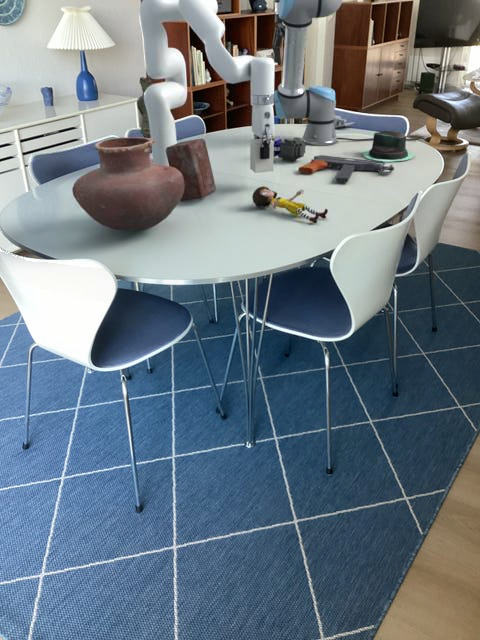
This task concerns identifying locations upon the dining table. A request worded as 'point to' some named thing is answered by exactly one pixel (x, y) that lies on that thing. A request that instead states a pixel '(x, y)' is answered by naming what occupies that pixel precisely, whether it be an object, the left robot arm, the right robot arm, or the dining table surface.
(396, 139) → the dark porkpie hat
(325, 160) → the submachine gun
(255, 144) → the brick
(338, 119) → the camera
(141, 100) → the statue
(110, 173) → the clay pot
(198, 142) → the rough terracotta slab
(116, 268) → the dining table surface
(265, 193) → the figurine
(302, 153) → the toy
